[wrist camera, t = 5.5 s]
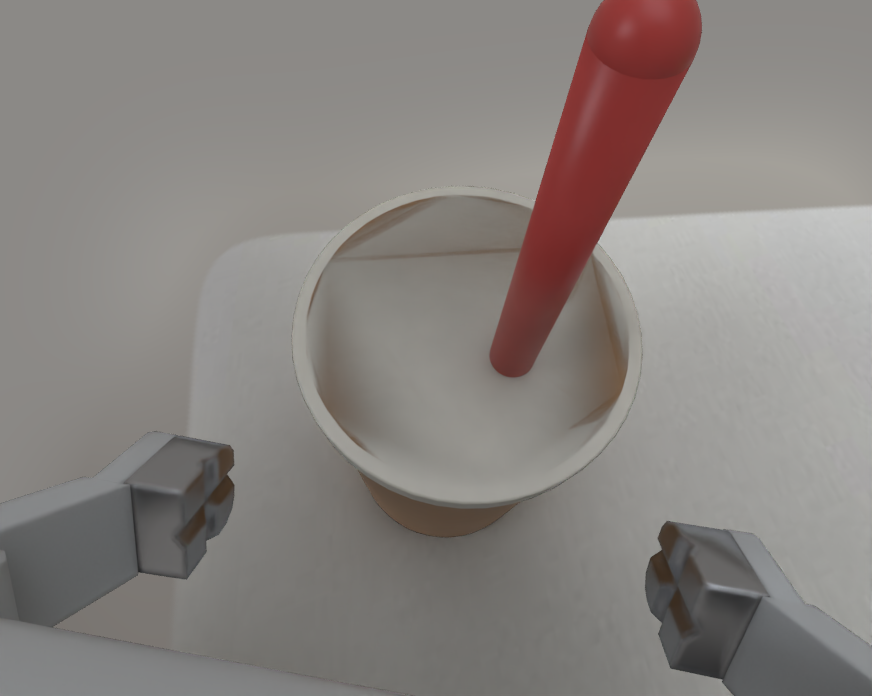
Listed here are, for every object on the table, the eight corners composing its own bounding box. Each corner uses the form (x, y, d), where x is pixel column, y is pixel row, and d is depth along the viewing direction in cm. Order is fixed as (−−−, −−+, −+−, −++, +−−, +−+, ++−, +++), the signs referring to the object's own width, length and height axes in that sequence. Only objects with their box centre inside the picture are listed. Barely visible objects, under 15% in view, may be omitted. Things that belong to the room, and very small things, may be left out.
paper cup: (316, 457, 18) (-130, -64, 3) (434, 333, 21) (472, -330, 6) (457, 587, 17) (743, 647, 2) (569, 438, 19) (1125, -87, 4)
